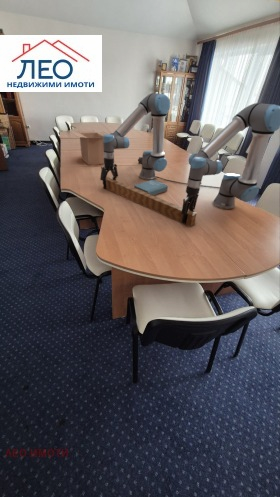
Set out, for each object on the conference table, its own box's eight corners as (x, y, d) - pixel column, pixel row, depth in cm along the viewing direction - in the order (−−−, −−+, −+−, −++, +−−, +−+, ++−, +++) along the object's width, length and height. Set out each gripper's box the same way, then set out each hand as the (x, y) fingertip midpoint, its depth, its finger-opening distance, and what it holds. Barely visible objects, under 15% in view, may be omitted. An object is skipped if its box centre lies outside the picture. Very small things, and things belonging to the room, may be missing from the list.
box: (116, 165, 229) (116, 136, 213) (83, 168, 214) (80, 137, 198) (102, 154, 259) (101, 128, 243) (71, 156, 244) (68, 129, 228)
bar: (103, 187, 179) (103, 178, 175) (107, 186, 182) (107, 177, 177) (190, 226, 137) (192, 215, 132) (194, 224, 140) (196, 213, 135)
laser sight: (157, 166, 235) (158, 156, 229) (137, 164, 238) (137, 154, 232) (158, 164, 242) (159, 154, 236) (138, 161, 245) (139, 152, 239)
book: (152, 185, 190) (153, 179, 187) (167, 191, 181) (167, 185, 178) (133, 191, 176) (133, 185, 173) (147, 198, 167) (148, 191, 164)
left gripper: (100, 161, 155) (102, 191, 169) (123, 156, 169) (122, 185, 182) (94, 158, 159) (95, 188, 172) (116, 154, 172) (116, 182, 186)
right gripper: (190, 192, 119) (183, 229, 133) (206, 184, 130) (198, 219, 144) (179, 188, 123) (173, 224, 137) (195, 181, 134) (188, 215, 148)
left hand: (109, 187), depth 177 cm, fingers open, 9 cm apart
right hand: (185, 221), depth 140 cm, fingers closed on bar, 5 cm apart
